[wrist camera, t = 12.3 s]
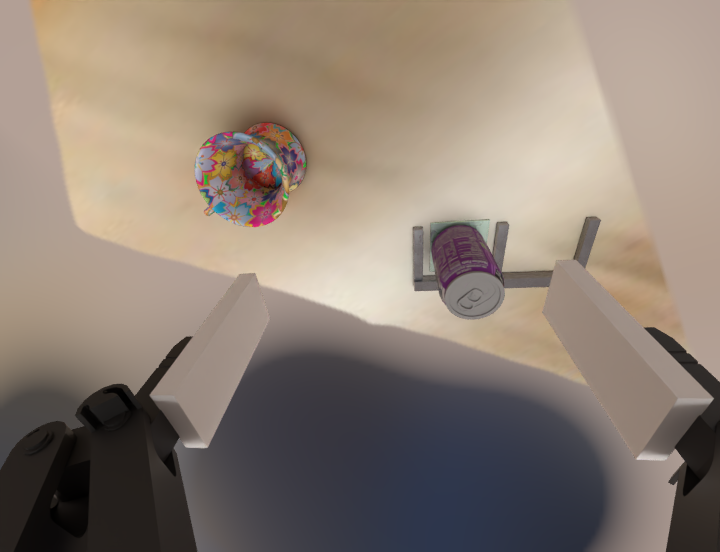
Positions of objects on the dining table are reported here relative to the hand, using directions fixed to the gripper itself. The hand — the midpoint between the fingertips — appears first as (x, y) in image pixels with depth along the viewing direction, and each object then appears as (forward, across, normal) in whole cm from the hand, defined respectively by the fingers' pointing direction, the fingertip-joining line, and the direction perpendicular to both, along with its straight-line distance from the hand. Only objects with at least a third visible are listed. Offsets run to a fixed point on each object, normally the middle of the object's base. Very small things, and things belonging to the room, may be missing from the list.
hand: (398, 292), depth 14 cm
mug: (+29, -16, 0) cm, 33 cm away
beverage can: (+28, +8, -13) cm, 32 cm away
